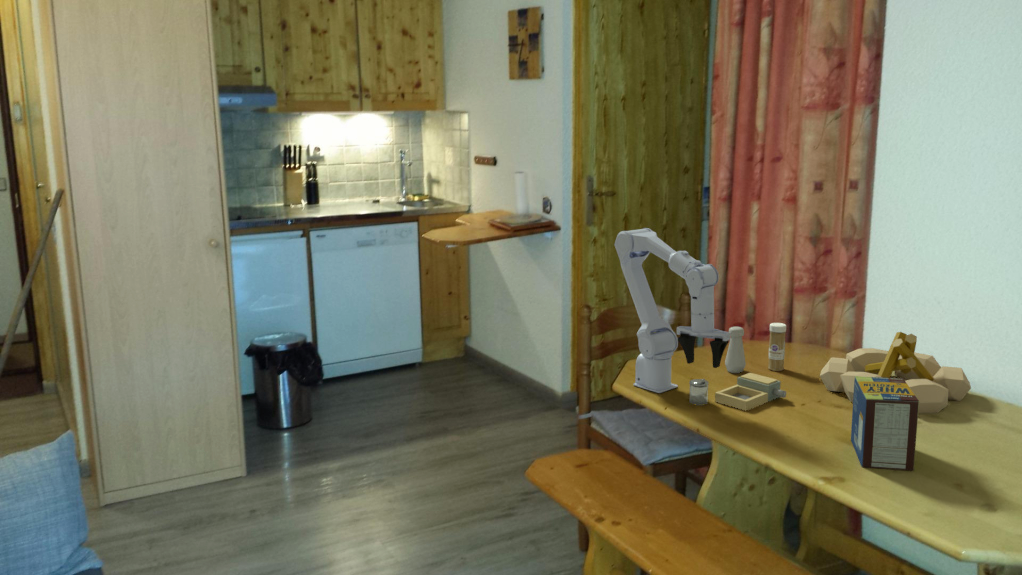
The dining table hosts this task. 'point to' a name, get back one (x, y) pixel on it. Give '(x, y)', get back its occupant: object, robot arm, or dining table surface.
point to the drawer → (750, 392)
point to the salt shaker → (735, 351)
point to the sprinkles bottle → (777, 346)
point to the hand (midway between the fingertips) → (703, 364)
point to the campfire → (899, 373)
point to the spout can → (698, 391)
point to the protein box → (884, 423)
